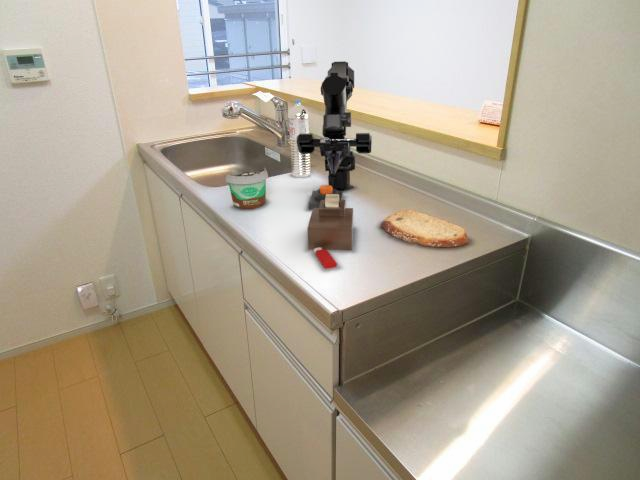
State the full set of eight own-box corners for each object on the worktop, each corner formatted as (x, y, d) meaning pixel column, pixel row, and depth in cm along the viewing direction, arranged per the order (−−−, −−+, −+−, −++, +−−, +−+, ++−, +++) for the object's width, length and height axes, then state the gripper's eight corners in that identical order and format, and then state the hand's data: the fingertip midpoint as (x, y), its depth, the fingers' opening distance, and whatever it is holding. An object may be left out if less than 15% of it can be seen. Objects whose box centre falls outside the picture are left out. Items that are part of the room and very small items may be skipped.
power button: (320, 190, 131) (320, 184, 130) (332, 190, 130) (332, 184, 130) (319, 195, 128) (319, 189, 127) (332, 195, 127) (331, 189, 126)
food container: (235, 214, 124) (231, 179, 120) (228, 207, 129) (224, 174, 125) (276, 205, 129) (274, 172, 125) (268, 199, 134) (266, 166, 130)
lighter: (324, 264, 95) (313, 248, 102) (324, 269, 95) (313, 253, 102) (336, 262, 96) (325, 246, 102) (336, 267, 96) (325, 251, 103)
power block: (313, 196, 136) (312, 185, 134) (342, 196, 135) (342, 185, 133) (308, 210, 126) (308, 198, 124) (341, 210, 125) (340, 198, 124)
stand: (314, 227, 115) (313, 199, 112) (353, 227, 114) (353, 200, 111) (308, 250, 104) (307, 220, 101) (351, 250, 103) (352, 220, 100)
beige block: (326, 203, 111) (326, 194, 110) (339, 203, 110) (339, 194, 109) (325, 208, 108) (325, 198, 107) (338, 208, 107) (338, 198, 106)
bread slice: (473, 245, 103) (475, 230, 102) (398, 253, 101) (399, 238, 100) (442, 215, 119) (444, 202, 118) (377, 221, 117) (377, 208, 116)
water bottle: (311, 177, 152) (308, 101, 142) (290, 177, 153) (286, 101, 142) (311, 171, 159) (308, 97, 148) (292, 171, 159) (288, 98, 148)
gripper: (295, 100, 110) (291, 156, 105) (372, 99, 108) (372, 156, 103) (301, 126, 121) (297, 178, 116) (371, 125, 119) (370, 178, 114)
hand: (333, 173), depth 112 cm, fingers closed
